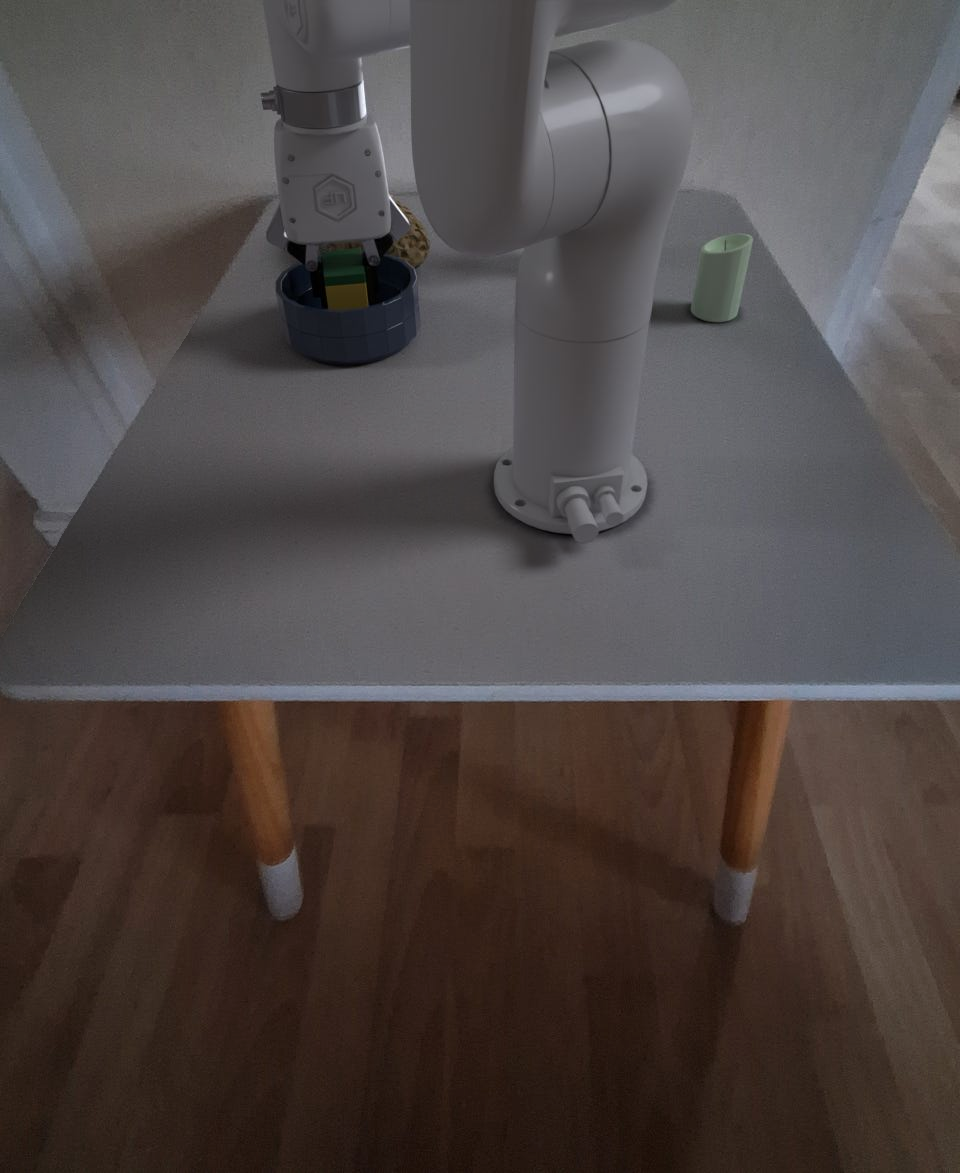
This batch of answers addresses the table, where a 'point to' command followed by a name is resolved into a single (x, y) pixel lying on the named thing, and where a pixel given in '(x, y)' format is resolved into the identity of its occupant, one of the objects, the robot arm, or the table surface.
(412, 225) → the sponge
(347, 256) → the scrub sponge
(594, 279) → the robot arm
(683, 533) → the table surface
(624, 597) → the table surface
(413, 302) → the bowl
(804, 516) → the table surface
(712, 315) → the candle
